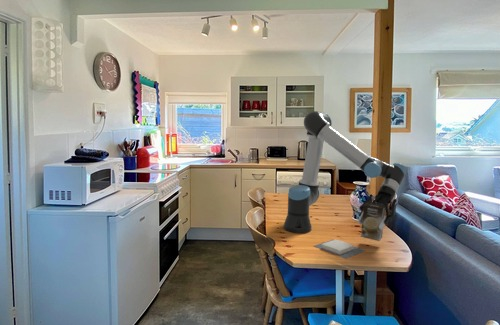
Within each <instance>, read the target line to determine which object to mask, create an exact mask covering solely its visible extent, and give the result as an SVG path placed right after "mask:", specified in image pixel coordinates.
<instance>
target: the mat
mask: <svg viewBox="0 0 500 325" xmlns="http://www.w3.org/2000/svg"><path fill="white" fill-rule="evenodd" d="M332 240H335V239H330V240H328V241H324V242H321V243H319V244H315V245H313V246H312V247H314V248H317V249H319V250H322V251H324V252H327V253H330V254H332V255H335V256H338V257H340V258H343V259H345V260H346V259H349V258H351V257H354V256H357V255H359V254H361V253H364V252H366V249H363V248H360V247H357V246H354V250H352V251H349V252H346V253H344V254H341V255H339V254H336V253H333V252H330V251H328V250H325V249H322V244H323V243H326V242H329V241H332Z"/></svg>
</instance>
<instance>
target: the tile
mask: <svg viewBox="0 0 500 325" xmlns="http://www.w3.org/2000/svg"><path fill="white" fill-rule="evenodd" d="M331 240H332V241H330V240H328V241H329V242H327V241H325V242H326V243H324V242H322V243H323V244H322V249H325V250H328V251H330V252H333V253H336V254H339V255H341V254H344V253H346V252H349V251H352V250H354V247H355V245H354V244H351V243H348V242H346V241H342V240H339V239H336V238H335V239H334V240H333V239H331Z"/></svg>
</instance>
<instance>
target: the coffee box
mask: <svg viewBox="0 0 500 325" xmlns="http://www.w3.org/2000/svg"><path fill="white" fill-rule="evenodd" d="M384 216H386V210H385V206H383V205H378V204H373V203H366V204H365V205H364V208H363V219H362V224H361V231H360V237H361V238H364V239H369V240H372V241H377V242H380V241H381V240H382V238H383V235H384V234H383V233H384V232H383V230H384V229H383V230H380V228H379V225H380V223H381V221H382V219H383V217H384Z"/></svg>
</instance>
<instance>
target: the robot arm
mask: <svg viewBox="0 0 500 325" xmlns="http://www.w3.org/2000/svg"><path fill="white" fill-rule="evenodd" d="M332 123H333V122H332V118H331V117H330V115H329V114H327V113H326V112H324V111H323V112H322V111H315V110H314V111H313V110H312V111H310V112H308V113H307V114H306V115H305V116H304V119H303V127H304V128H305V130H306V136H307V137H308V141H307V148H306V151H305V158H304V159H305V160H304V164H303V172H302V177H301V179H299V181H298V184H297V185H292V186H290V187H289V188H288V193H287V215H286V218H285V220H284V223H283V229H284V230H285V231H287V232H291V233H295V234H296V233H297V234H303V233H304V234H305V233H310V232H311V231H312V223H311V219H310V218H311V217H310V206H311V205H313V204H315V203H316V202H317V201H318V200H319V197H320V190H319V187H320V183H319V182H318V177H319V171H320V167H321V166H320V165H321V159H322V153H323V150H324V149H323V148H324V142H325V143H327V144H328V145H329V146H331V147H332V148H333V149H334V150H335V151H337V152H338V153H339V154H341V155H342V156H343V157H344V158H346V159H347V160H348V161H350V162H351V163H352V164H354V165H355V166H356V167H357V168H359V170H361V171H362V172H364V174H365V176H366V177H368V178H370V179H373V178H375V179H376V178H378V177H380V178H383V179H384V180H383V182H382V184H381V186H380V187H379V189H378V191H377V194H376V195H373V194H370V195H369V196H368V198H367V199H365V201H364V202H363V203H362V204H361V205H360V206H359V207H358V209H359V211H360V213H359V218H358V219H357V223H358V224H359V225H360V226H362V219H363V208H364V205H365V204H366V203H373V204H378V205H383V206H385V215H384V217H383V219H382V221H381V223H380V225H379V228H380V230H384V227H385V225H387V224H388V223H389V221H390V220H391V219H392V220H395V218H396V210H397V205H398V203H399V202H398V200H397V199H396V198H395V196H396V193H397V192H398V190H399V187H400V185H401V184H402V182H403V180H404V178H405V177H406V173H407V170H408V169H407V167H406V166H405V165H404V164H402V163H400V162H399V163H398V162H394V163H393V164H389V163H387V162H384V161H383V160H380V159H378V158H375V157H373V156H370V155H368V154H367V153H365V152H364V151H363V150H362V149H360V148H359V147H358V146H356V145H355V144H354V143H352V142H351V141H350V140H349V139H347V138H346V137H345V136H343V135H342V134H341V133H339V132H338V131H336V130H335V129H334V128H333V127H332V125H333V124H332ZM389 204H391V208H390V206H389ZM390 209H391V210H390Z"/></svg>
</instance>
